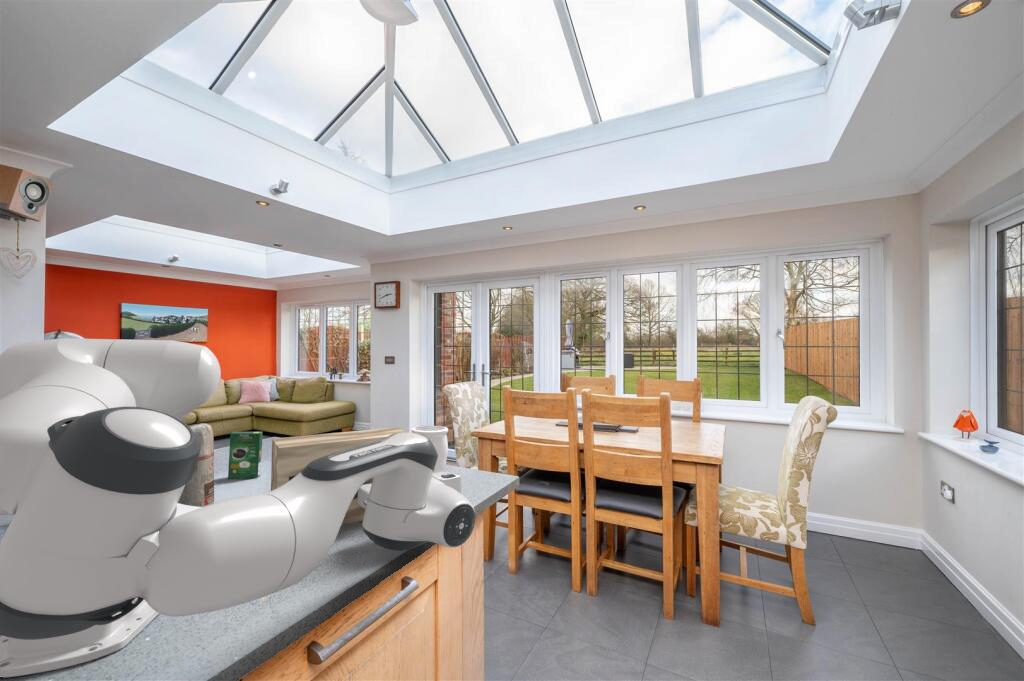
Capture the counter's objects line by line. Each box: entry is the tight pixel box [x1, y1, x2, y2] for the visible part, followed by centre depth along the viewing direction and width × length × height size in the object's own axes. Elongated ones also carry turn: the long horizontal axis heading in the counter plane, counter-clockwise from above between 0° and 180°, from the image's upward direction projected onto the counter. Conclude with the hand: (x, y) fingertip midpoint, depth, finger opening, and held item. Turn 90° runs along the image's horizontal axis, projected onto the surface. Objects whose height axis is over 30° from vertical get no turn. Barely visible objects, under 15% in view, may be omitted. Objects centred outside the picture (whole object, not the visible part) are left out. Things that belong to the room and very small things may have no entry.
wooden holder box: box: [270, 426, 410, 526], centre depth 98 cm, size 10×28×18 cm, turn 125°
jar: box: [411, 425, 449, 473], centre depth 126 cm, size 11×10×15 cm
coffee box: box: [227, 431, 263, 479], centre depth 125 cm, size 8×3×13 cm, turn 103°
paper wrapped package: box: [178, 423, 215, 507], centre depth 98 cm, size 8×8×20 cm
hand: (396, 479), depth 96 cm, fingers closed
